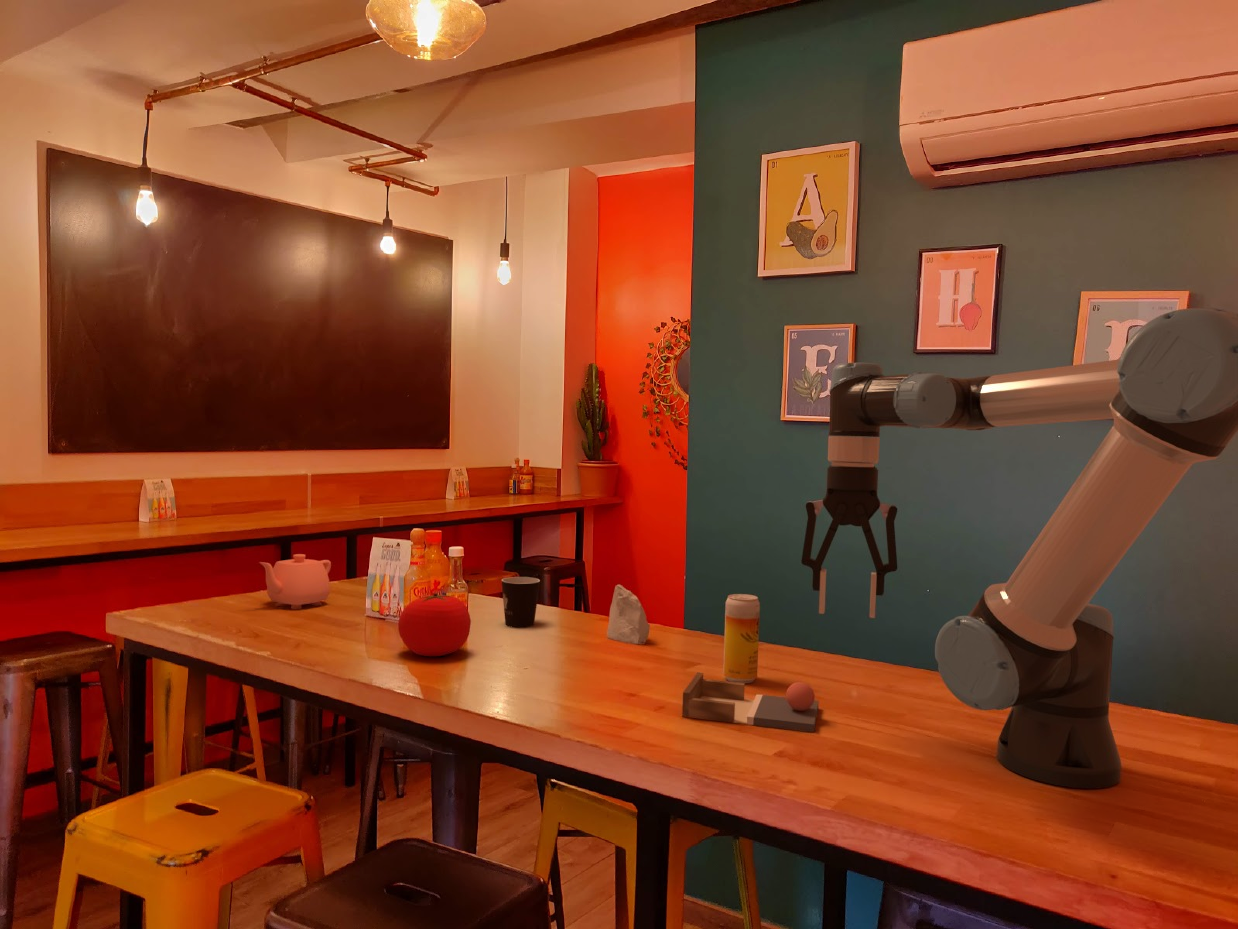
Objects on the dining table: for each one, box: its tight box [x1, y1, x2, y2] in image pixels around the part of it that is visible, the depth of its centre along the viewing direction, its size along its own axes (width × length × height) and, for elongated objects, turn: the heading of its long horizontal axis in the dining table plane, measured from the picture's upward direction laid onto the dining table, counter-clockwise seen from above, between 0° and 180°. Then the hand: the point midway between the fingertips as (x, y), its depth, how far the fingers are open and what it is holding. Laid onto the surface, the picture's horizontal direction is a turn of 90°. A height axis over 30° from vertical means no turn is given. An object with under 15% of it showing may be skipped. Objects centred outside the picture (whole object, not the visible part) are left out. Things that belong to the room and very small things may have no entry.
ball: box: [785, 681, 816, 711], centre depth 137 cm, size 4×4×4 cm
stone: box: [606, 584, 651, 646], centre depth 185 cm, size 10×5×12 cm, turn 40°
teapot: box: [258, 553, 332, 610], centre depth 209 cm, size 13×20×12 cm, turn 147°
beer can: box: [722, 593, 761, 684], centre depth 157 cm, size 6×6×15 cm
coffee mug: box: [501, 576, 541, 629], centre depth 197 cm, size 12×9×10 cm
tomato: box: [397, 592, 472, 657], centre depth 169 cm, size 13×14×12 cm
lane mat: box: [700, 693, 819, 733], centre depth 139 cm, size 20×12×1 cm, turn 74°
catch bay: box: [681, 672, 746, 724], centre depth 140 cm, size 8×12×4 cm, turn 164°
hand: (846, 613), depth 134 cm, fingers open, 7 cm apart
